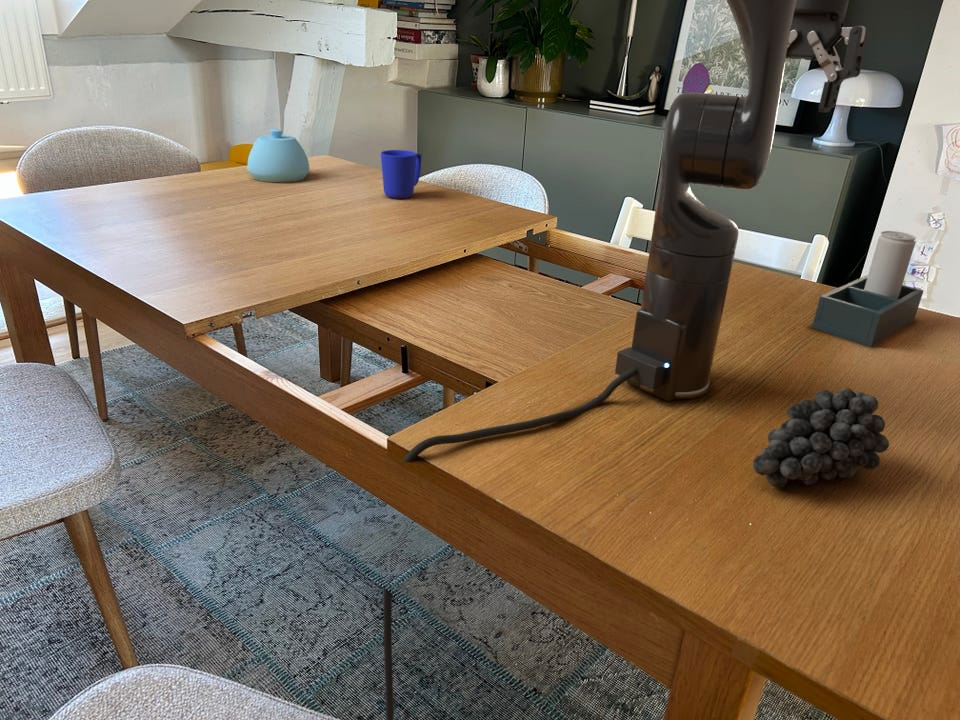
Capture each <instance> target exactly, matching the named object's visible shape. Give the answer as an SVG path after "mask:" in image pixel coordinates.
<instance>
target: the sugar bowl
mask: <svg viewBox="0 0 960 720" xmlns="http://www.w3.org/2000/svg"><path fill="white" fill-rule="evenodd" d="M269 132H270V134H265V135H261V136H258V137H257V138H256V140H255V142H254V144H253V146H251V147H252V148H251V149H250V152H249V155H248V158H247V165H246V166H247V171H248V173H249V174H250V175H251V176H252V177H253V178H254V179H255V180H257V181H261V182H265V183H266V182H267V183H292V182H299V181H301V180H304V179H305V178H306V177H307V175H308V174H309V172H310V169H311V168H310V163H309V159H308V156H307V153H306V152H305V150H304V148H303V146H302V145H301V144H300V142H299V141H298V139H297V138H296V137H295V136H291V135H285V134H283V132H284V130H283V129H279V128H273V129H269Z"/></svg>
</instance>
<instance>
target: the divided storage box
mask: <svg viewBox="0 0 960 720" xmlns="http://www.w3.org/2000/svg"><path fill="white" fill-rule="evenodd" d="M867 277H868V274H866V275H864V276H862V277H859V278H857V279H855V280H852V281H850V282H848V283H846V284H844V285H841V286H839V287H837V288H835V289H833V290H831V291H828V292H826V293H824V294H822V295H820V296H819V299H818V302H817V307H816V310H815V314H814V317H813V322H812V326H811V329H814V330H818V331H821V332H823V333H826V334H830V335H832V336H836V337H839V338H842V339H845V340H848V341H850V342H851V341H852V342H854V343H857V344H861V345H864V346H867V347H869V348H872V347H874V346H875V345H877V344H879V343H880V342H882V341H883V340H885V339H887V338H888V337H890V336H892V335H893V334H895V333H896V332H898V331H900V330H901V329H903V328H905V327H906V326H908V325H910V324H911V323H913V322H914V321H915V320H916V316H917V313H918V310H919V306H920V304H921V300H922V297H923V294H924V290H923V289H920V288H915V287H913V286H908V285H904V284H902V287H901V291H900V294H899V297H898V299H895V298H891V297H888V296H884V295H880V294H877V293H873V292H869V291H866V290H864V288H865V284H866V281H867Z"/></svg>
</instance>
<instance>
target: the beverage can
mask: <svg viewBox="0 0 960 720" xmlns="http://www.w3.org/2000/svg"><path fill="white" fill-rule="evenodd" d="M916 239H917V237H916V236H915V235H913V234H910V233H907V232H902V231H897V230H896V231H894V230H883V231H881V232H880V236H879V237H878V238H877V242H876V246H875V250H874V253H873V257H872V260H871V263H870V267H869V271H868V274H867V276H868V277H867V281H866V284H865V288H864V290H866V291H869V292H873V293H877V294H880V295H884V296H888V297H891V298H895V299H898V297H899V294H900V291H901V287H902V285H904V284H903V283H904V280H905V278H906V275H907V272H908V267H909V265H910V261H911V258H912V255H913V252H914V249H915V246H916V241H915V240H916Z"/></svg>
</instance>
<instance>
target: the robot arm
mask: <svg viewBox="0 0 960 720" xmlns="http://www.w3.org/2000/svg"><path fill="white" fill-rule="evenodd" d="M726 3H727V5H728V7H729V9H730V11H731V14H732V16H733V19H734V21H735V24H736V27H737V30H738V33H739V37H740V40H741V43H742V46H743V50H744V56H745V60H746V64H747V76H748V93H747V95H745V96H740V95H729V94H718V93H705V92H690V91H689V92H682V93H680V94H679V95H677V96H676V97H675V98H674V99H673V101H672V104H671V105H670V107H669V110H668V112H667V116H666V120H665V124H664V132H663V139H662V148H661V159H660V170H659V179H658V180H659V181H658V190H657V197H656V205H655V211H654V217H653V218H654V220H653V226H652V233H651V237H650V244H649V251H648V252H649V253H648V258H647V265H646V271H645V278H644V284H643V285H644V286H643V291H642V298H641V304H640V309H638V310H637V311H636V315H635V319H634V320H635V321H634V327H633V333H632V341H631V346H628V347H626V348H624V349H621V350H619V351H617V356H616V363H615V370H614V374H616V375H617V377H616V378H615V379H613V380H612V381H611V382H610V383H609V384H608V385H607V387H605V389H604V390H603V391H602V392H601V393H600V394H599V395H597V396H596V397H594V398H593V399H591V400H590V401H588V402H586V403H585V404H582V405H581V406H577V407H576V408H572V409H569V410H568V409H567V410H565V411H560V412H557V413H552V414H549V415H545V416H542V417H538V418H534V419H530V420H526V421H521V422H516V423H515V422H514V423H509V424H502V425H497V426H492V427H491V426H490V427H485V428H481V429H476V430H471V431H467V432H462V433H456V434H445V435H443V434H442V435H436V436H432V437H428V438H426V439H424V440H422V441H420V442H418V443H417V444H416V445H414V446H413V447H412V448H411V449H410V450H409V451H408V452H407V454H406V455H405V457H404V458H403V462H404V463H411V462H413V461H414V460H415V459H416V458H417V457H418V456H419V455H421V454H422V453H423V452H424V451H426V450H428V449H429V448H431V447H435V446H440V445H448V444H449V445H450V444H459V443H465V442H469V441H473V440H474V441H475V440H477V439H483V438H488V437H494V436H498V435H504V434H509V433H515V432H522V431H525V430H526V431H527V430H530V429H535V428H539V427H542V426H546V425H549V424H553V423H557V422H561V421H564V420H569V419H572V418H574V417H577V416H578V415H579V416H580V415H581V414H583V413H585V412H587V411H589V410H591V409H594V408H596V407H597V406H599V405H600V404H602V403H603V402H605V401H606V400H607V399H609V397H610V396H611V395H612V394H613V392H614V391H615V390H616V389H617V388H618V387H620V386H621V385H622V384H623V383H626V384H629V385H630V386H633V387H635V388H637V389H640V390H642V391H644V392H647V393H649V394H650V395H653V396H655V397H658V398H660V399H662V400H664V401H666V402H671V401H672V400H687V399H695V398H698V397H702V396H703V395H705V394H706V393H707V392H708V390H709V387H710V382H711V379H710V377H711V373H712V369H713V368H712V367H713V364H714V357H715V353H716V347H717V343H718V339H719V332H720V328H721V324H722V323H721V322H722V318H723V313H724V308H725V304H726V299H727V294H728V293H727V292H728V288H729V284H730V283H729V282H730V278H731V274H732V270H733V263H734V259H735V255H736V249H737V244H738V240H739V227H738V226H737V224H736V223H735V222H734V221H733V220H732V219H730V218H728V217H727V216H724V215H722V213H719V212H717V211H715V210H714V209H711V208H710V207H708V205H706V204H704V203H703V202H702V201H700V199H698V198H697V197H696V195H695V194H694V193H693V191H692V188H691V185H692V184H693V185H698V186H699V185H700V186H707V187H714V188H715V187H716V188H725V189H731V190H733V189H734V190H744V191H745V190H752V189H754V188H756V187H757V186H758V185H759V183H760V182H761V181H762V179H763V177H764V175H765V173H766V170H767V167H768V163H769V160H770V156H771V151H772V147H773V141H774V136H775V129H776V123H777V117H778V111H779V104H780V97H781V90H782V86H783V85H782V84H783V80H784V79H783V78H784V72H785V67H786V66H785V65H786V63H787V62H789V61H790V59H791V60H805V61H817V63H818V64H819V66H820V67H821V68H822V69H823V72H824V74H825V76H826V78H827V81H824V83H823V87H822V92H821V96H820V99H819V103H818V113H829V112H830V111H831V110H832V109H834V108H835V107H836V105H837V102H838V97H839V94H840V89H841V86H842V83H843V82H844V81H845V80H849V79H853V78H857V77H859V76H860V74H861V70H862V66H863V59H864V54H865V48H866V44H867V40H868V39H867V38H868V33H869V29H868V27H867V26H864V25H854V26H847V27H845V22H844V20H845V17H846V14H847V11H848V6H849V3H850V0H726ZM842 38H844V44H845V45H847V46H846V51H845V57H844V62H843V67H842V65H841V62H840V61H841V59H840V55H839V54H838V51H837V49H836V48H835V46H836V45H837V44H838V43H839V42H840V41H841V39H842ZM392 598H393V594H392V592H391V591H389V590H388V589H387V587H385V586H383V655H384V656H383V657H384V658H383V659H384V687H385V689H384V690H385V716H386V718H385V719H386V720H394V685H393V684H394V682H393V681H394V680H393V677H394V676H393V646H392V645H393V644H392V643H393V639H392V638H393V637H392V632H393V631H392V629H393V628H392V607H393V605H392V604H393V602H392V601H393V599H392Z"/></svg>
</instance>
